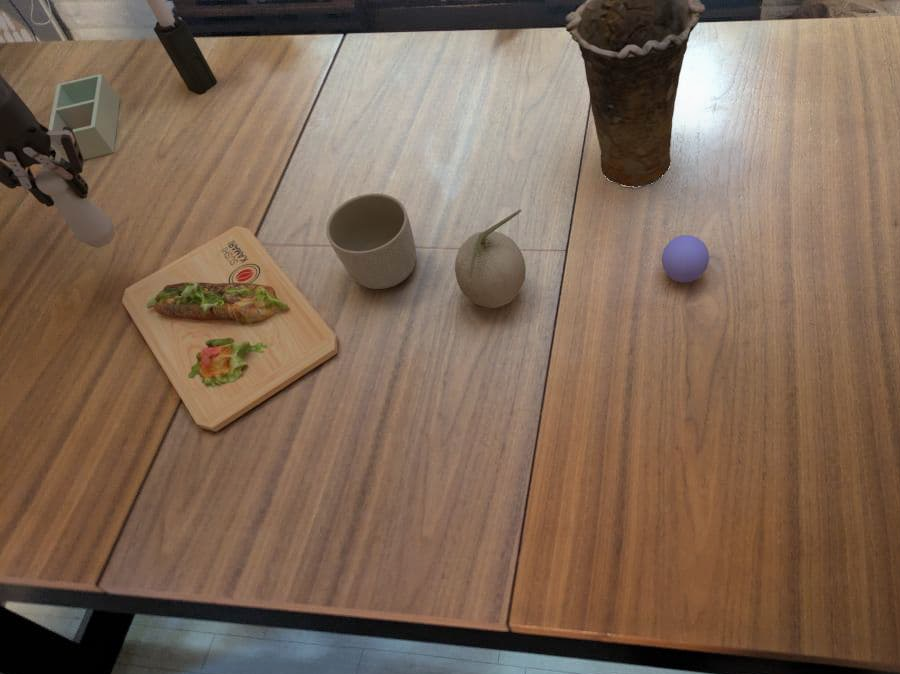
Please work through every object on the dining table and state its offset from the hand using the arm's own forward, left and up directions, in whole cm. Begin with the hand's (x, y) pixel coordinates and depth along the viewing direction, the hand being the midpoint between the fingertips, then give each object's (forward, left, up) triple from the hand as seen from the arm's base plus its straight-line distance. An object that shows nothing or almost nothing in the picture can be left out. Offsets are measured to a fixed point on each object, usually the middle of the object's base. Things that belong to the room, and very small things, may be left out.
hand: (67, 198), depth 105 cm
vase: (+87, -2, -18) cm, 89 cm away
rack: (-11, +44, -17) cm, 49 cm away
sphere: (+87, -29, -18) cm, 93 cm away
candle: (+11, +51, -18) cm, 55 cm away
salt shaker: (0, 0, -8) cm, 8 cm away
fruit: (+58, -24, -18) cm, 65 cm away
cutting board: (+16, -16, -18) cm, 29 cm away
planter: (+42, -13, -18) cm, 47 cm away
